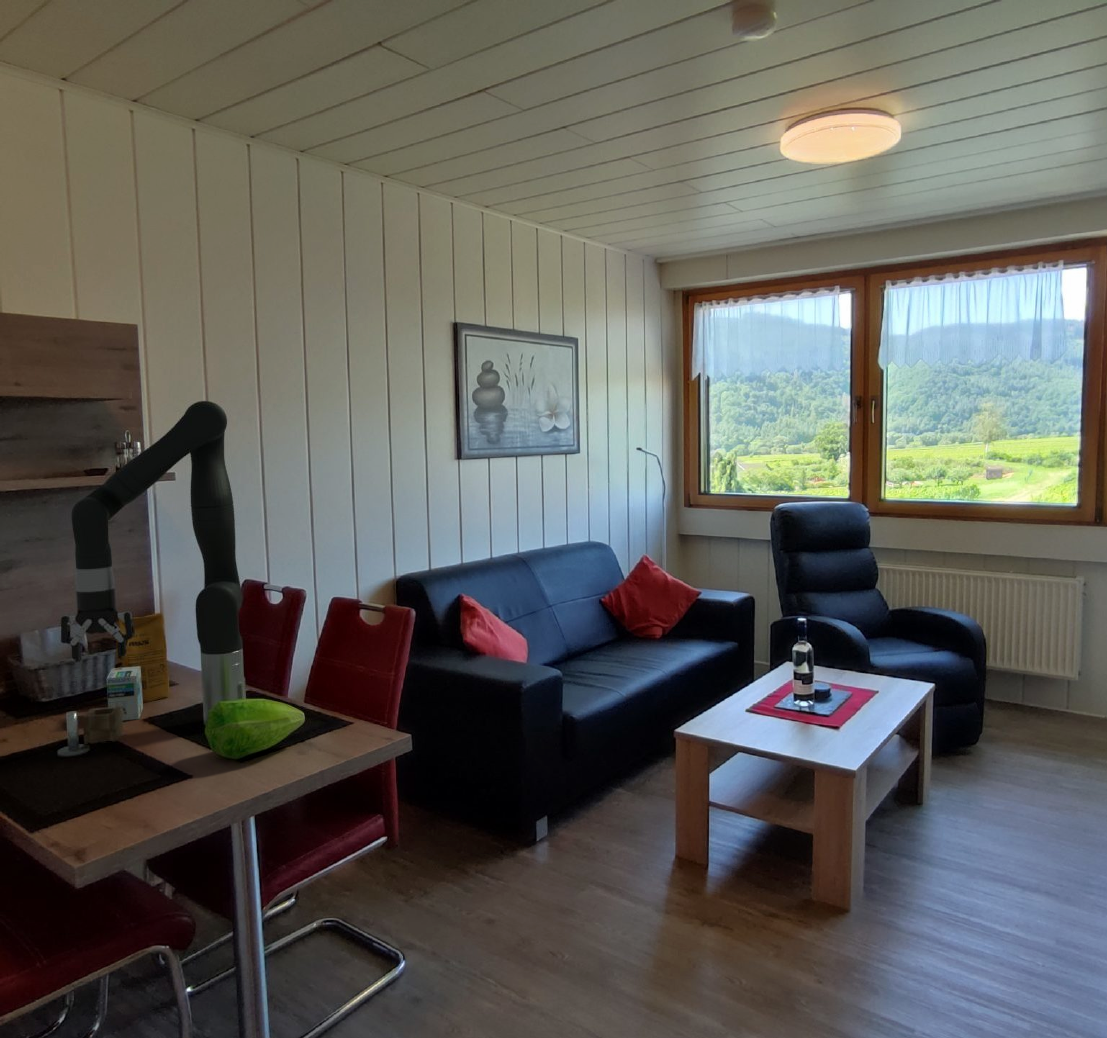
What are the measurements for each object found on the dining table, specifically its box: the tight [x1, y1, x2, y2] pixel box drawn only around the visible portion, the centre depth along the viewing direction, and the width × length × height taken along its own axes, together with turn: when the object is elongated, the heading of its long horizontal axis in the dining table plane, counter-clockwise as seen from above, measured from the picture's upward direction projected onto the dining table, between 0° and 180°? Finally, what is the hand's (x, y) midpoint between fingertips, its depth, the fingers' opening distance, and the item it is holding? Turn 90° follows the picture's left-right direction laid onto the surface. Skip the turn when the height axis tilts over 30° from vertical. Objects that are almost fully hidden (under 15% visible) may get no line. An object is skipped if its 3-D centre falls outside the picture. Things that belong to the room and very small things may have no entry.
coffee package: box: [114, 612, 170, 703], centre depth 216 cm, size 10×12×22 cm
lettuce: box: [204, 698, 306, 760], centre depth 176 cm, size 14×20×12 cm
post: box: [57, 710, 91, 758], centre depth 178 cm, size 6×6×9 cm
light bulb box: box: [106, 666, 144, 721], centre depth 203 cm, size 11×7×11 cm, turn 22°
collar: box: [82, 706, 124, 745], centre depth 187 cm, size 6×6×6 cm
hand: (99, 659), depth 185 cm, fingers open, 8 cm apart
